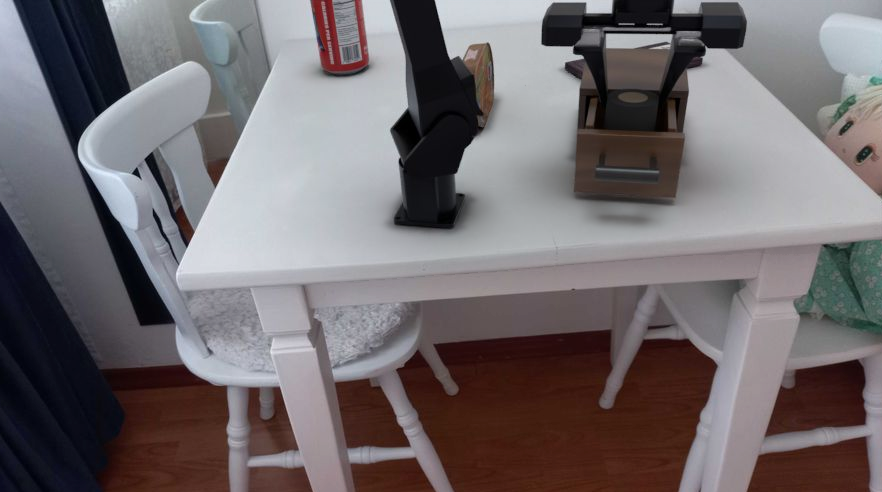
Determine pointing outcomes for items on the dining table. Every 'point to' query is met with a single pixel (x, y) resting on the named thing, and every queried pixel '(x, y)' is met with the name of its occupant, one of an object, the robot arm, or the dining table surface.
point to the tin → (482, 76)
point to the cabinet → (634, 79)
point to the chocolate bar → (578, 65)
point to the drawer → (629, 156)
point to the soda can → (340, 35)
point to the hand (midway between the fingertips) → (631, 107)
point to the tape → (631, 110)
